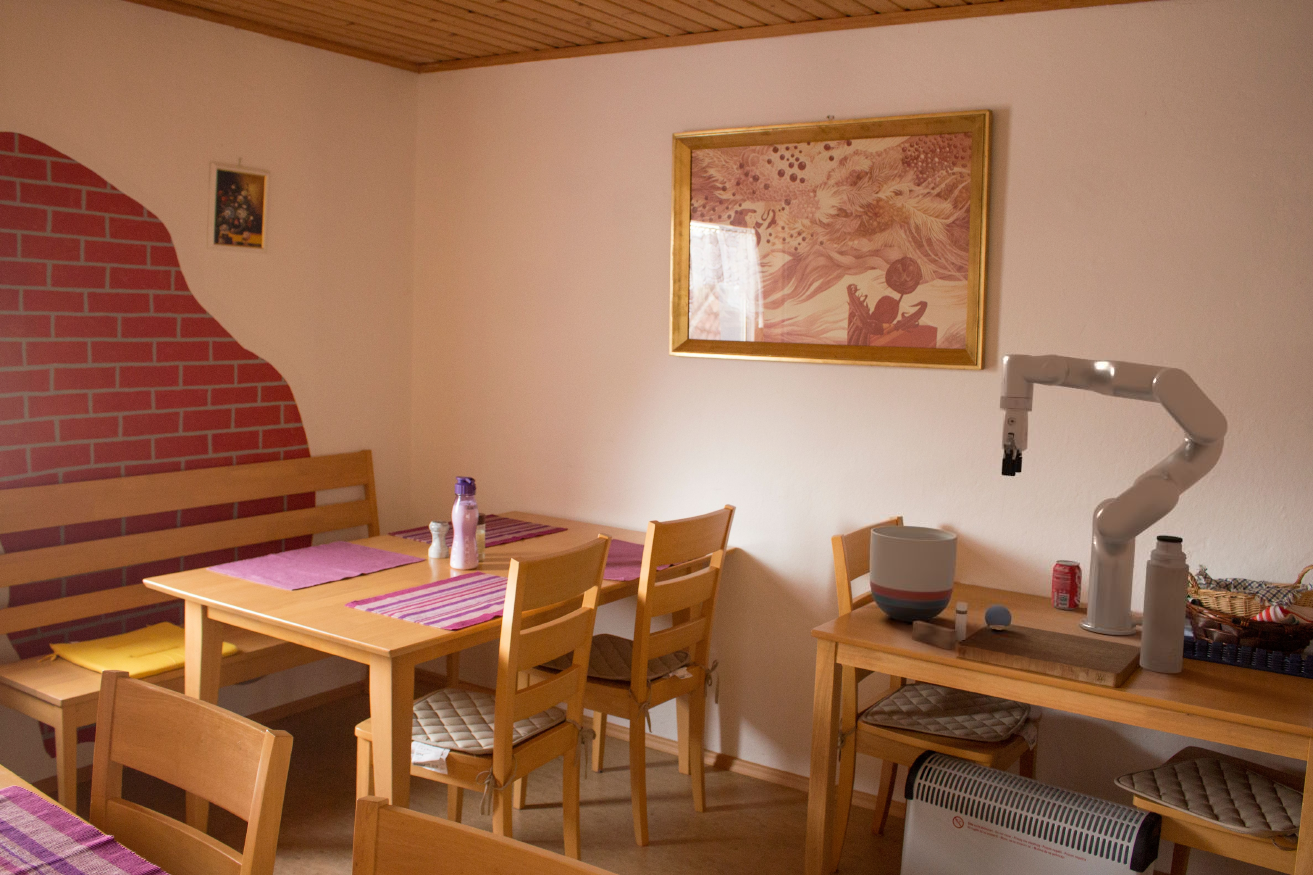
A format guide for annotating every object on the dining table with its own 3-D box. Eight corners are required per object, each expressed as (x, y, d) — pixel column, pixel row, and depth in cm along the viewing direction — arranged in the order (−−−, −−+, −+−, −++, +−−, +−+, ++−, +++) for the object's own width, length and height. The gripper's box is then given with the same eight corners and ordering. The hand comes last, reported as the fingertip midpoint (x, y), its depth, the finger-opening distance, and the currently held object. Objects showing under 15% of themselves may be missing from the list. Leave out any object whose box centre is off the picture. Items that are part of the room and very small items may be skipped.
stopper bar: (912, 638, 232) (913, 621, 231) (917, 637, 233) (918, 620, 233) (949, 649, 224) (950, 631, 224) (954, 648, 225) (955, 630, 225)
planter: (864, 606, 261) (868, 523, 259) (946, 611, 258) (951, 528, 256) (869, 627, 241) (873, 537, 239) (958, 633, 238) (963, 542, 236)
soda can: (1074, 605, 269) (1077, 560, 269) (1083, 611, 262) (1086, 565, 262) (1047, 603, 270) (1050, 558, 269) (1054, 610, 263) (1057, 564, 262)
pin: (966, 638, 233) (968, 602, 232) (965, 641, 231) (967, 604, 230) (955, 637, 234) (957, 601, 233) (953, 640, 232) (955, 603, 231)
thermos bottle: (1147, 659, 221) (1157, 531, 219) (1187, 668, 215) (1196, 537, 213) (1133, 666, 215) (1142, 535, 213) (1173, 675, 210) (1183, 541, 208)
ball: (1011, 628, 243) (1013, 604, 243) (1009, 634, 238) (1011, 609, 237) (985, 625, 246) (986, 601, 245) (982, 631, 240) (984, 606, 240)
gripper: (1027, 406, 241) (1022, 478, 243) (1036, 404, 257) (1032, 472, 258) (994, 405, 245) (989, 475, 246) (1005, 403, 260) (1001, 469, 261)
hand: (1011, 473), depth 252 cm, fingers open, 9 cm apart
